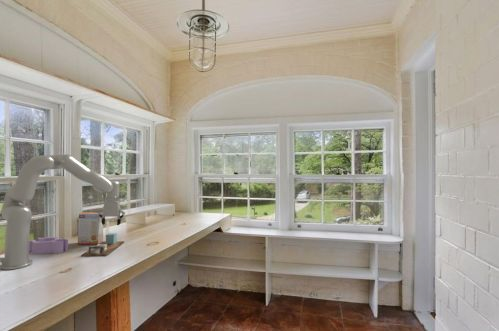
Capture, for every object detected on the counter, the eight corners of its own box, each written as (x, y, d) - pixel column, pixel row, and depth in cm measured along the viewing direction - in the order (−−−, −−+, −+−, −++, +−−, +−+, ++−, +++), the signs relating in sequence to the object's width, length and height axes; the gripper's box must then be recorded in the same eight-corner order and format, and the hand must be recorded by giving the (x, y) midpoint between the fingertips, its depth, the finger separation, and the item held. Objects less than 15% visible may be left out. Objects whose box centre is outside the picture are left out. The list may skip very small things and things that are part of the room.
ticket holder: (81, 256, 153) (81, 247, 153) (102, 242, 181) (103, 235, 181) (106, 256, 155) (106, 247, 155) (124, 242, 183) (124, 235, 183)
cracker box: (103, 242, 182) (104, 212, 182) (97, 245, 176) (98, 213, 176) (83, 241, 182) (84, 211, 182) (77, 244, 176) (78, 213, 176)
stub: (105, 243, 175) (106, 234, 175) (108, 241, 180) (109, 232, 180) (113, 243, 175) (113, 234, 176) (116, 241, 180) (116, 232, 181)
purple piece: (72, 248, 167) (72, 237, 167) (57, 254, 155) (57, 243, 155) (42, 247, 168) (42, 236, 168) (24, 253, 156) (25, 242, 156)
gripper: (96, 199, 173) (94, 225, 173) (123, 200, 175) (122, 226, 175) (101, 198, 181) (100, 223, 180) (127, 199, 183) (126, 223, 182)
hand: (111, 224), depth 177 cm, fingers open, 9 cm apart
